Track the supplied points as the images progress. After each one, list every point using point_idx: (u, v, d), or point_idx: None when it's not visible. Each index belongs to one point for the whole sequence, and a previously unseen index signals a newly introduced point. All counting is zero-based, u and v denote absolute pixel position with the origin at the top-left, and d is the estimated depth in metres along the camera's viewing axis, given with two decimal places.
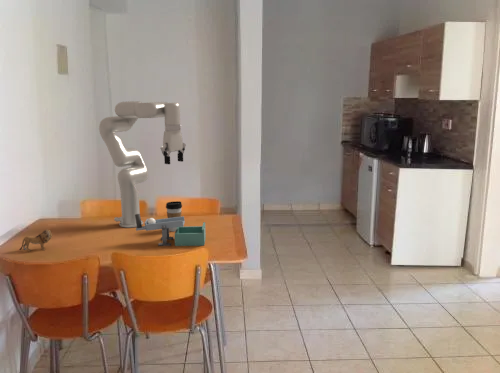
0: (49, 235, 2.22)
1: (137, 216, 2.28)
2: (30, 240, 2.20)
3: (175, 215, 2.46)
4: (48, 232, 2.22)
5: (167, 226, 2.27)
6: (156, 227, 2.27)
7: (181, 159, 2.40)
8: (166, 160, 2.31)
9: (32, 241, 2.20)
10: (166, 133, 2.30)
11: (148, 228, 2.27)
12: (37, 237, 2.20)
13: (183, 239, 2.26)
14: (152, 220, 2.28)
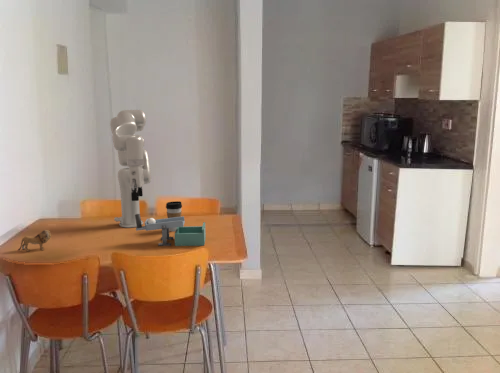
0: (48, 235, 2.22)
1: (137, 216, 2.28)
2: (29, 240, 2.20)
3: (175, 215, 2.46)
4: (47, 232, 2.22)
5: (167, 226, 2.27)
6: (156, 227, 2.27)
7: None
8: None
9: (31, 241, 2.20)
10: None
11: (148, 228, 2.27)
12: (36, 237, 2.20)
13: (183, 239, 2.26)
14: (152, 220, 2.28)
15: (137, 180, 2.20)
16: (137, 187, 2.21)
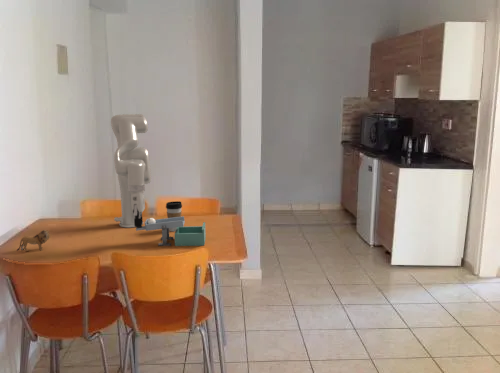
0: (47, 235, 2.22)
1: None
2: (28, 240, 2.20)
3: (175, 215, 2.46)
4: (46, 232, 2.21)
5: (167, 226, 2.27)
6: (156, 227, 2.27)
7: None
8: None
9: (30, 241, 2.20)
10: None
11: (148, 228, 2.27)
12: (35, 237, 2.20)
13: (183, 239, 2.26)
14: (152, 220, 2.28)
15: (138, 206, 2.23)
16: (139, 214, 2.26)
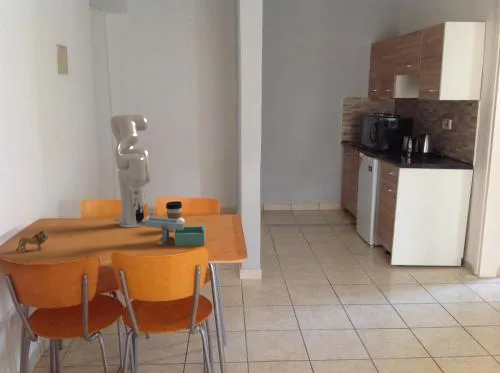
0: (46, 235, 2.21)
1: None
2: (27, 240, 2.19)
3: (175, 215, 2.46)
4: (45, 232, 2.21)
5: (167, 227, 2.27)
6: (156, 225, 2.26)
7: None
8: None
9: (29, 241, 2.20)
10: None
11: (148, 225, 2.26)
12: (34, 237, 2.20)
13: (183, 239, 2.26)
14: (182, 221, 2.29)
15: (140, 200, 2.22)
16: (140, 208, 2.25)
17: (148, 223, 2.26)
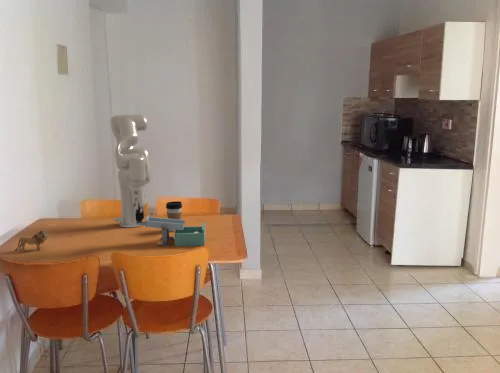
0: (45, 235, 2.21)
1: None
2: (26, 240, 2.19)
3: (175, 215, 2.46)
4: (44, 232, 2.21)
5: (167, 227, 2.27)
6: (156, 225, 2.26)
7: None
8: None
9: (28, 241, 2.20)
10: None
11: (148, 225, 2.26)
12: (33, 237, 2.20)
13: (183, 239, 2.26)
14: None
15: (140, 200, 2.22)
16: (140, 208, 2.25)
17: (148, 223, 2.26)
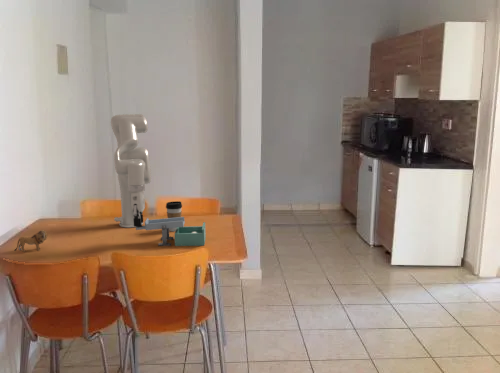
0: (44, 235, 2.21)
1: None
2: (25, 240, 2.19)
3: (175, 215, 2.46)
4: (43, 232, 2.21)
5: (167, 226, 2.27)
6: (156, 227, 2.27)
7: None
8: None
9: (27, 241, 2.19)
10: None
11: (148, 228, 2.27)
12: (32, 237, 2.20)
13: (183, 239, 2.26)
14: None
15: (138, 205, 2.23)
16: (139, 213, 2.25)
17: (148, 226, 2.26)
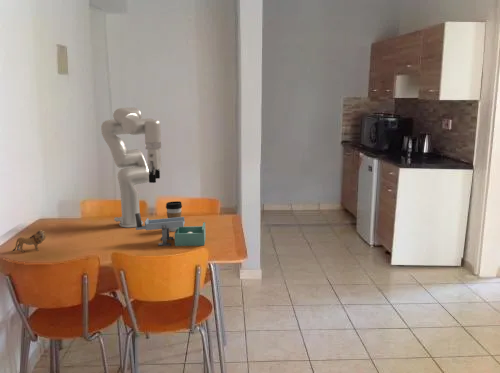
0: (43, 236, 2.21)
1: (137, 215, 2.28)
2: (24, 241, 2.19)
3: (175, 215, 2.46)
4: (42, 233, 2.21)
5: (167, 226, 2.27)
6: (156, 227, 2.27)
7: None
8: None
9: (26, 242, 2.19)
10: None
11: (148, 228, 2.27)
12: (31, 238, 2.20)
13: (183, 239, 2.26)
14: None
15: (154, 163, 2.27)
16: (154, 169, 2.28)
17: (148, 226, 2.26)
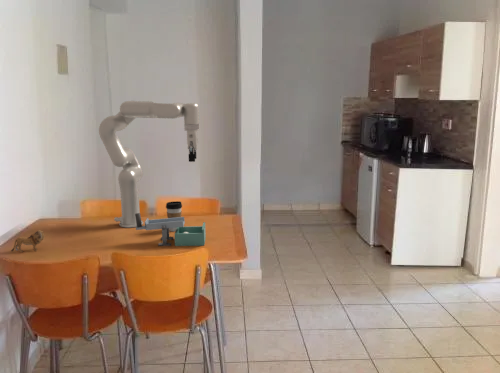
0: (41, 236, 2.21)
1: (137, 215, 2.28)
2: (22, 241, 2.19)
3: (175, 215, 2.46)
4: (40, 233, 2.21)
5: (167, 226, 2.27)
6: (156, 227, 2.27)
7: None
8: None
9: (24, 242, 2.19)
10: None
11: (148, 228, 2.27)
12: (29, 238, 2.19)
13: (183, 239, 2.26)
14: None
15: (194, 143, 2.43)
16: (194, 149, 2.44)
17: (148, 226, 2.26)
